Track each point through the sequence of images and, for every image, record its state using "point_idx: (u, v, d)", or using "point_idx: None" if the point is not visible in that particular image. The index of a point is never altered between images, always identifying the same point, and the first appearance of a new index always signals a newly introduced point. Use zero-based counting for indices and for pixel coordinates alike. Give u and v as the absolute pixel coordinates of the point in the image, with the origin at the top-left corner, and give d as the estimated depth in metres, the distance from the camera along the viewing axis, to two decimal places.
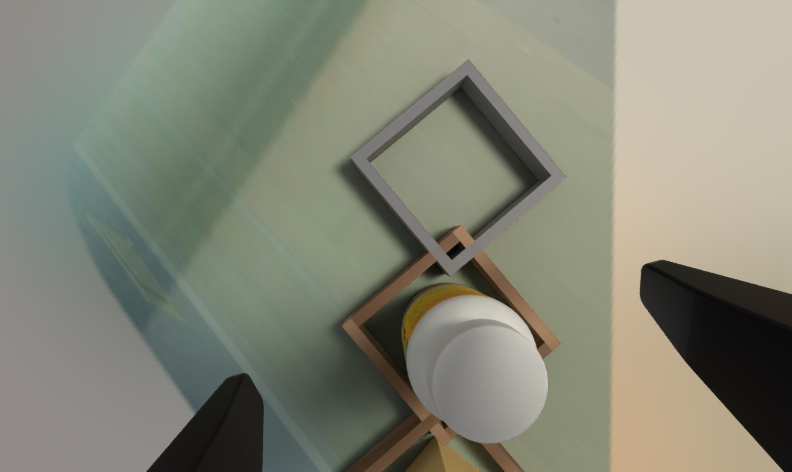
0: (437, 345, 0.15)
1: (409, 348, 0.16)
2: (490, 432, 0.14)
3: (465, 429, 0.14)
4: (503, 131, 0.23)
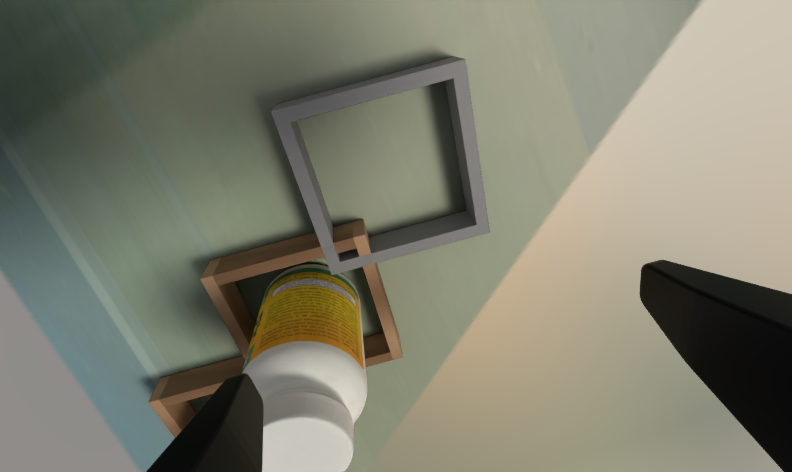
0: (265, 406, 0.15)
1: (246, 372, 0.16)
2: None
3: None
4: (460, 151, 0.20)
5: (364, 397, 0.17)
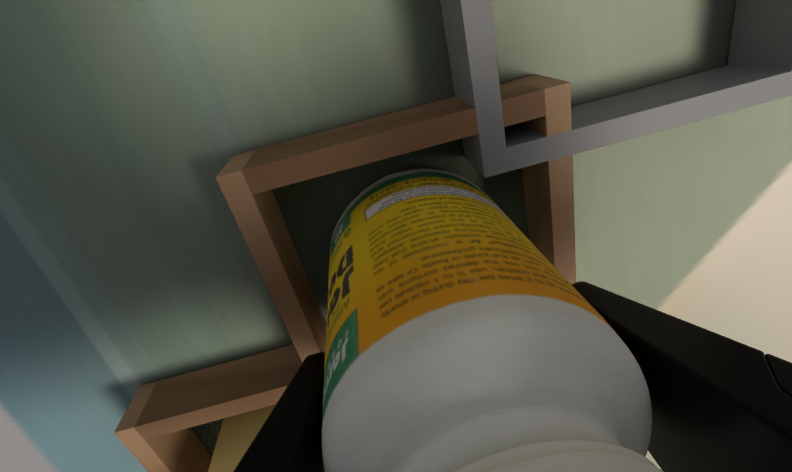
0: None
1: (358, 382, 0.06)
2: None
3: None
4: None
5: None
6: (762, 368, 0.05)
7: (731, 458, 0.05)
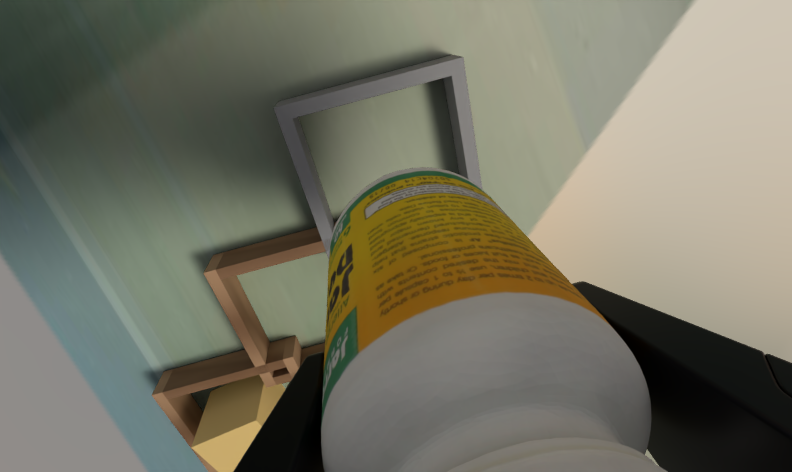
0: None
1: (357, 380, 0.06)
2: None
3: None
4: (458, 148, 0.20)
5: None
6: (762, 368, 0.05)
7: (731, 458, 0.05)
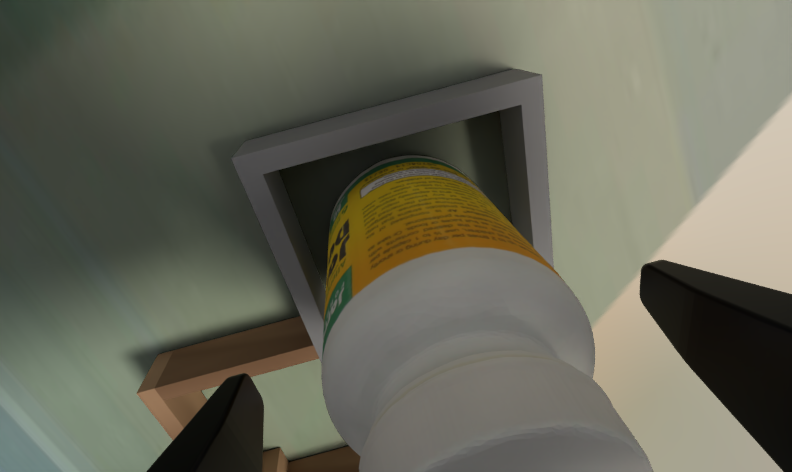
0: (435, 393, 0.05)
1: (351, 316, 0.07)
2: None
3: None
4: (517, 207, 0.13)
5: None
6: None
7: None
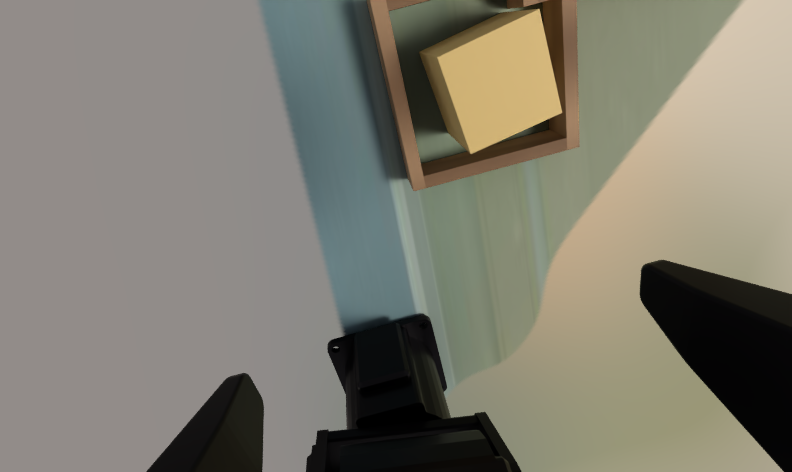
0: None
1: None
2: None
3: None
4: None
5: None
6: None
7: None
